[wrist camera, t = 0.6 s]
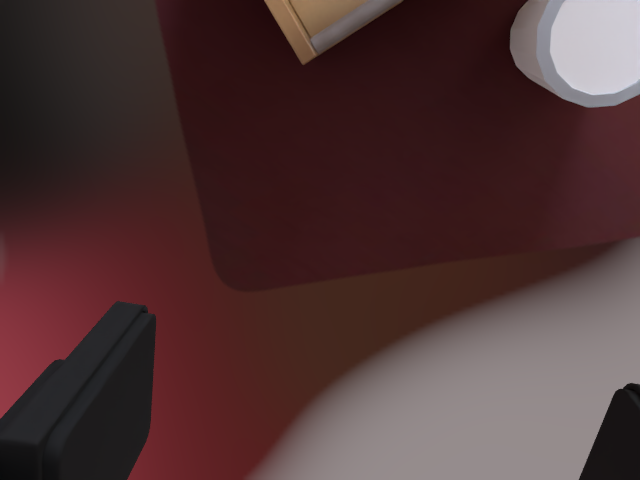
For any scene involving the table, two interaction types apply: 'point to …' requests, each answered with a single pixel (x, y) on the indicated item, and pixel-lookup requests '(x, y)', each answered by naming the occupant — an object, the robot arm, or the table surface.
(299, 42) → the spice rack
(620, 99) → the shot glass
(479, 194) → the table surface
